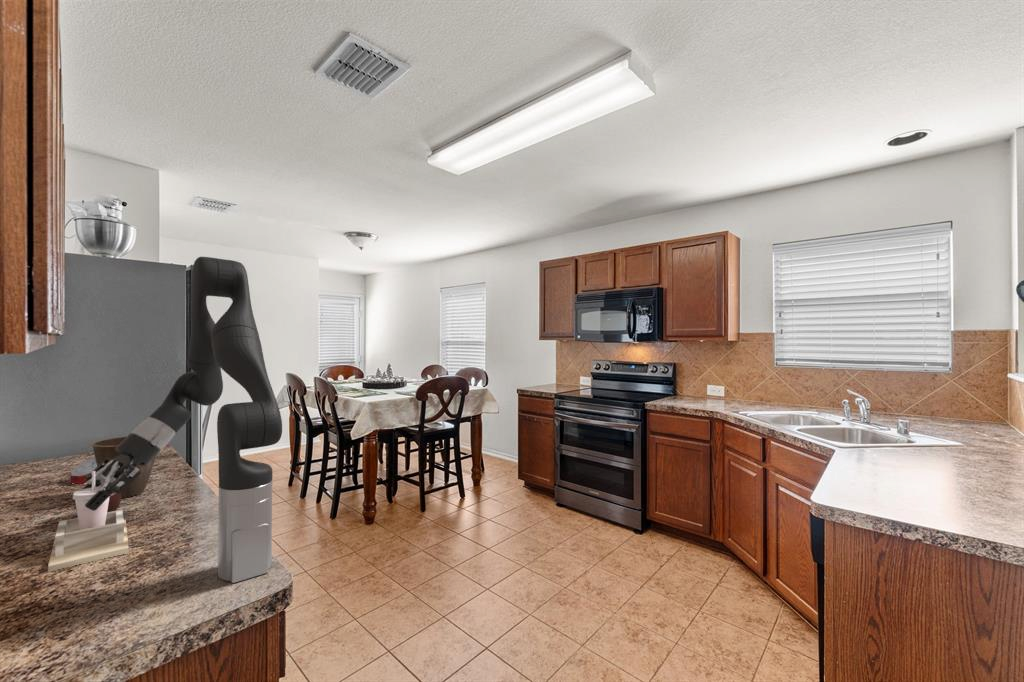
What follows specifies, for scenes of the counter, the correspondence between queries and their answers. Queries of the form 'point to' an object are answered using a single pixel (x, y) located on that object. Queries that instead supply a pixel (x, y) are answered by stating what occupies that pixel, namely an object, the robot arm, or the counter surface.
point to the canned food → (83, 471)
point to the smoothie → (87, 515)
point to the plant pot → (109, 451)
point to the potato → (112, 502)
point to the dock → (88, 542)
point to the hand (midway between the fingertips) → (82, 505)
